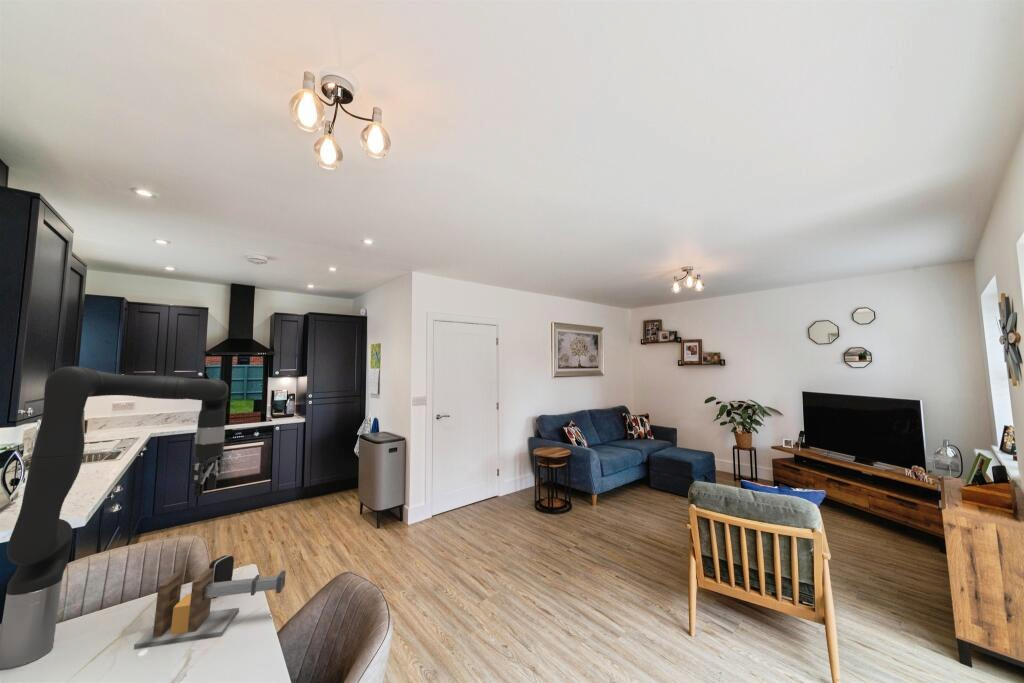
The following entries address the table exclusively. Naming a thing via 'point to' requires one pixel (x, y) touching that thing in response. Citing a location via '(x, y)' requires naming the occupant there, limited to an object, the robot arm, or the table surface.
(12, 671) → the table surface
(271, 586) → the shaft
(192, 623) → the stand
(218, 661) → the table surface
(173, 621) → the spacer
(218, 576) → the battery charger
